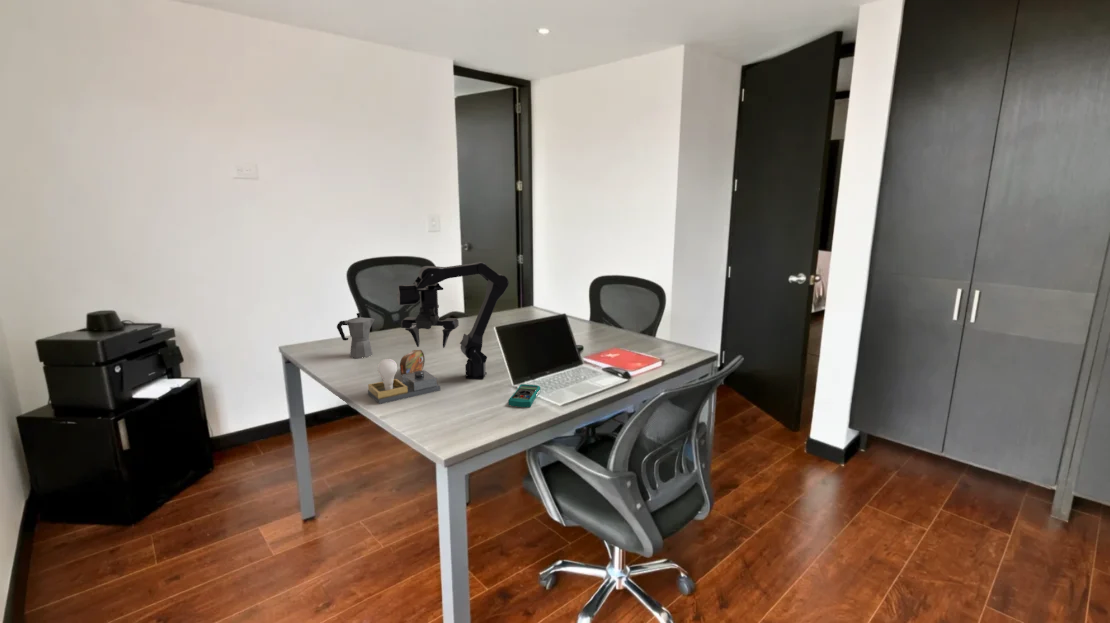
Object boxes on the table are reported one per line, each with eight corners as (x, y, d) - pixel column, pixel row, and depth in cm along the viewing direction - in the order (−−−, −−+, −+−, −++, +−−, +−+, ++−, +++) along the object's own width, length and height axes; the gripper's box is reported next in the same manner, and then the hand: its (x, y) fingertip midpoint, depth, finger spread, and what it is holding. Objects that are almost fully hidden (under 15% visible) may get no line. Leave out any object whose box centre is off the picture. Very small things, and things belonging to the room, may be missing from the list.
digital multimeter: (507, 407, 160) (507, 398, 159) (520, 391, 174) (520, 382, 173) (530, 409, 158) (530, 400, 158) (540, 392, 173) (541, 384, 172)
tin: (407, 381, 181) (405, 358, 179) (398, 380, 182) (397, 358, 180) (425, 368, 195) (424, 347, 194) (418, 367, 196) (417, 346, 194)
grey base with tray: (426, 381, 181) (426, 365, 180) (440, 390, 172) (439, 373, 171) (368, 393, 168) (366, 376, 167) (379, 404, 160) (378, 386, 159)
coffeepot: (373, 350, 218) (370, 309, 215) (381, 355, 211) (378, 313, 208) (336, 356, 209) (332, 313, 205) (343, 361, 202) (339, 317, 198)
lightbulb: (402, 389, 169) (400, 357, 167) (391, 395, 163) (389, 362, 161) (386, 387, 171) (385, 355, 168) (375, 393, 165) (373, 360, 163)
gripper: (393, 307, 167) (396, 352, 170) (449, 308, 166) (450, 354, 169) (406, 300, 178) (408, 343, 181) (458, 302, 176) (459, 345, 180)
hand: (431, 347), depth 177 cm, fingers open, 9 cm apart
